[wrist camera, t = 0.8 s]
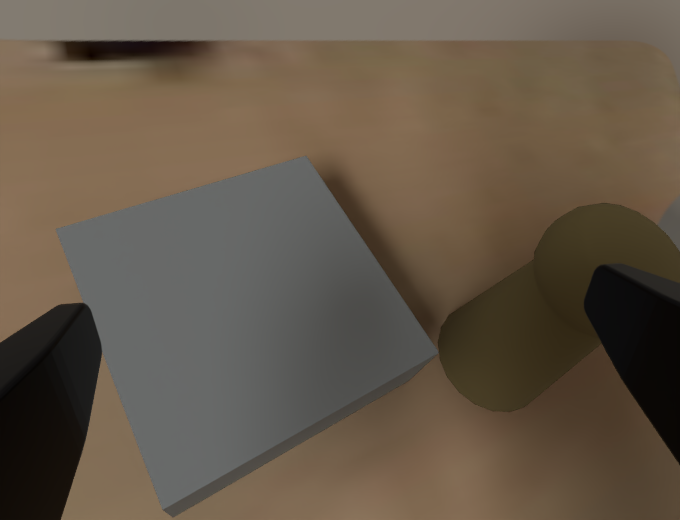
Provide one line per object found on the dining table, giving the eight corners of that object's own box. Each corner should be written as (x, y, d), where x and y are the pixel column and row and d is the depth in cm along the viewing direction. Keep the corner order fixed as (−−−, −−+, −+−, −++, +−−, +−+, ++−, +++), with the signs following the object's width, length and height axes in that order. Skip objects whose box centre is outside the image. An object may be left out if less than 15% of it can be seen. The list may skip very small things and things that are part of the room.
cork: (553, 337, 27) (722, 227, 18) (529, 434, 24) (721, 360, 15) (458, 286, 28) (576, 153, 18) (421, 374, 24) (543, 265, 15)
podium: (408, 380, 24) (439, 352, 21) (173, 517, 19) (162, 509, 16) (296, 202, 28) (306, 155, 25) (79, 275, 23) (55, 229, 20)
